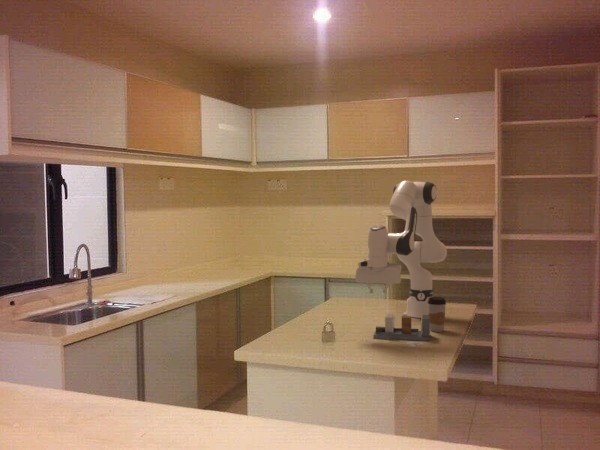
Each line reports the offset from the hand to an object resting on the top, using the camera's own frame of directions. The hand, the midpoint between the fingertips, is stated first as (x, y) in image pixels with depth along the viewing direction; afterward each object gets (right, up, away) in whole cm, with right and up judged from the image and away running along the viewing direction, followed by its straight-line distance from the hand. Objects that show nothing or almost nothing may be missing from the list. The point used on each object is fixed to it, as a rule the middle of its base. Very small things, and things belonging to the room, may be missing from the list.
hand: (378, 293), depth 260 cm
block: (+12, -18, -2) cm, 22 cm away
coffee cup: (+29, -19, +10) cm, 36 cm away
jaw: (+3, -17, 0) cm, 18 cm away
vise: (+10, -19, -2) cm, 22 cm away
